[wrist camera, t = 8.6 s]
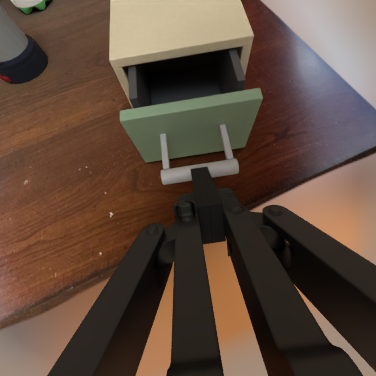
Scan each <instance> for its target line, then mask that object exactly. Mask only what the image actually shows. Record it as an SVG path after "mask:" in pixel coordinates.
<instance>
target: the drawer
mask: <svg viewBox="0 0 376 376" xmlns="http://www.w3.org/2000/svg"><path fill="white" fill-rule="evenodd" d="M128 78H129V100H130V102H131V104H132V106H133V108H134V109H128V110H122V111H120V122H121V124H122V125H123V127H124V129H125V130H126V132H127V133H128V135H129V137H130V138H131V140H132V142H133V143H134V145H135V146H136V148H137V150H138V151H139V153H140V154H141V156H142V158H143V159H144V161H145V162H146V163H147V162H153V161H160V160H162V162H163V170H161V180H162V183H163V185H166V184H173V183H179V182H186V181H192V177H191V170H190V169H194V168H200V167H208V169H209V172H210V174H211V176H212V178H213V177H219V176H226V175H233V174H238V172H239V165H238V161H237V159H233V154H232V150H231V149H237V148H243V147H245V145H246V143H247V140H248V137H249V135H250V132H251V129H252V126H253V124H254V121H255V118H256V116H257V113H258V110H259V107H260V105H261V102H262V99H263V96H262V93H261V90H260V88H255V89H249V90H244V86H245V82H246V78H245V75H244V72H243V69H242V65H241V62H240V59H239V56H238V53H237V50H236V47H235V48H229V49H223V50H218V51H212V52H206V53H200V54H194V55H188V56H183V57H177V58H171V59H165V60H159V61H153V62H148V63H142V64H136V65H130V66H128ZM218 151H224V153H225V157H226V160H223V161H217V162H210V163H204V164H197V165H191V166H184V167H178V168H171V169H170V163H169V159H172V158H179V157H185V156H192V155H198V154H205V153H211V152H218Z"/></svg>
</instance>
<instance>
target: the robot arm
mask: <svg viewBox="0 0 376 376" xmlns="http://www.w3.org/2000/svg"><path fill="white" fill-rule="evenodd" d="M190 170H191V177H192V183H193V190H194V193H191V194H184V195H181V196H180V197H179V198H178V202H177V203H176V204H175V205H174V206H173V209H174V213H175V218H176V221H175V222H174V223H173V224H172V225H169V226H167V227H163V225H162V224H159V223H154V224H149V225H147V226H146V227H144V228H143V229H142V230H141V232H140V233H139V235H138V236H137V238H136V239H135V241H134V242H133V244H132V245H131V247H130V249H129V250H128V252H127V253H126V255H125V256H124V258H123V259H122V261H121V262H120V264H119V266H118V267H117V269H116V270H115V272H114V273H113V275H112V276H111V278H110V279H109V281H108V283H107V284H106V286H105V287H104V289H103V290H102V292H101V293H100V295H99V297H98V298H97V300H96V301H95V303H94V304H93V306H92V307H91V309H90V310H89V312H88V314H87V315H86V317H85V318H84V320H83V321H82V323H81V324H80V326H79V328H78V329H77V331H76V332H75V334H74V335H73V337H72V339H71V340H70V342H69V343H68V344H67V346H66V348H65V349H64V351H63V352H62V354H61V355H60V357H59V358H58V360H57V361H56V363H55V365H54V366H53V368H52V369H51V371H50V372H49V374H48V375H47V376H135V375H136V372H137V369H138V366H139V363H140V360H141V357H142V355H143V351H144V349H145V345H146V343H147V340H148V337H149V334H150V331H151V328H152V325H153V322H154V319H155V316H156V313H157V310H158V307H159V304H160V301H161V298H162V295H163V292H164V289H165V286H166V283H167V280H168V277H169V274H170V271H171V268H172V264H173V262H174V288H173V319H172V349H171V364H170V367H169V369H168V370H167V376H224V374H223V367H222V362H221V356H220V349H219V343H218V337H217V331H216V325H215V318H214V312H213V306H212V300H211V293H210V287H209V281H208V274H207V268H206V262H205V256H204V250H203V244H209V243H215V242H222V241H226V239H227V249H228V256H230V257H231V260H232V263H233V266H234V269H235V272H236V275H237V279H238V282H239V285H240V288H241V291H242V294H243V298H244V301H245V304H246V307H247V310H248V313H249V316H250V320H251V323H252V326H253V329H254V332H255V335H256V339H257V341H258V345H259V348H260V351H261V354H262V357H263V361H264V364H265V367H266V370H267V373H268V376H363V375H362V373H361V372H360V370H359V369H358V367H357V366H356V364H355V363H354V362H353V360H352V359H351V358H350V357H349V355H348V354H347V353H346V352H345V351H344V350H343V349H341V348H339V347H336V346H334V345H332V344H331V343H330V342H329V341H328V339H327V338H326V336H325V335H324V333H323V331H322V330H321V328H320V326H319V325H318V323H317V322H316V320H315V318H314V317H313V315H312V313H311V312H310V310H309V309H308V307H307V305H306V304H305V302H304V300H303V299H302V297H301V295H300V294H299V292H298V291H297V289H296V287H297V288H298V289H299V290H300V291H301V292H302V293H303V294H304V295H305V296H306V297H307V299H308V300H309V301H310V302H311V303H312V304H313V305H314V306H315V307H316V308H317V309H318V310H319V311H320V313H321V314H322V315H323V316H324V317H325V318H326V319H327V320H328V321H329V322H330V323H331V324H332V325H333V326H334V328H335V329H336V330H337V331H338V332H339V333H340V334H341V335H342V336H343V337H344V338H345V339H346V340H347V342H348V343H350V345H351V346H352V347H353V348H354V349H355V350H356V351H357V352H358V353H359V354H360V355H361V357H362V358H363V359H364V360H365V361H366V362H367V363H368V364H369V365H370V366H371V367H372V368H373V369H374V371H375V372H376V265H374V264H373V263H371V262H369V261H368V260H366V259H365V258H363V257H362V256H360V255H359V254H357V253H355V252H354V251H352V250H351V249H349V248H347V247H346V246H344V245H343V244H341V243H340V242H338V241H337V240H335V239H334V238H332V237H330V236H329V235H327V234H326V233H324V232H322V231H321V230H319V229H318V228H316V227H315V226H313V225H312V224H310V223H309V222H307V221H305V220H304V219H302V218H301V217H299V216H297V215H296V214H294V213H293V212H291V211H290V210H288V209H287V208H284V207H282V206H278V205H270V206H266V207H265V208H263V213H257V212H250V211H248V209H247V208H246V207H245V206H243V205H241V204H240V203H239V201H238V199H237V197H236V196H235V194H234V192H233V191H232V190H231V189H230V188H228V187H227V188H220V189H216V186H215V184H214V181H213V179H212V176H211V174H210V172H209V169H208V167H200V168H194V169H190ZM225 236H226V238H225ZM294 285H295V286H296V287H295V286H294Z"/></svg>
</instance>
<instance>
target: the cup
mask: <svg viewBox="0 0 376 376" xmlns="http://www.w3.org/2000/svg"><path fill="white" fill-rule="evenodd" d="M45 1H51V0H11V2H12V3H13V4H14V5H15V6H16V7H18V8H19V9H20V10H22V11H23V12H25V13H26V14H30V13H31V12H32V7H36V8H38V9H39V10H44V9H45V7H46V5H45Z"/></svg>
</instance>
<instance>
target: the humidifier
mask: <svg viewBox="0 0 376 376" xmlns="http://www.w3.org/2000/svg"><path fill="white" fill-rule="evenodd" d="M47 63H48V59H47V56H46V54H45V53H44V52H43V51H42V49H41V48H40V47H39V45H38V44H37V43H36V42H35V41H34V40H33V39H32V38H31V37H30V36H28V35H26V34H24V33H23V32H22V31H21V30H20V28H19V27H18V26H17V25H16V23H15V22H14V21H13V20H12V18H11V17H10V16H9V15H8V13H7V12H6V11H5V10H4V8H3V7H2V6H1V5H0V78H1V79H3V80H5V81H8V82H10V83H15V84H17V83H24V82H27V81H30V80H32V79H34V78H36V77H37V76H38V75H39V74H41V73H42V72H43V70H44V69H45V68H46V66H47Z"/></svg>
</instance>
